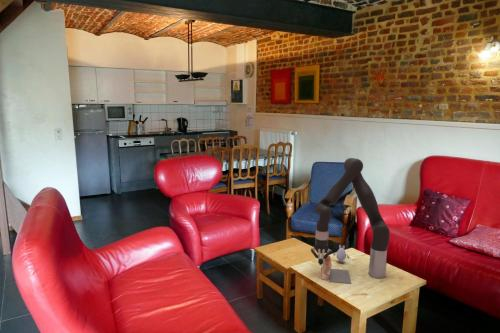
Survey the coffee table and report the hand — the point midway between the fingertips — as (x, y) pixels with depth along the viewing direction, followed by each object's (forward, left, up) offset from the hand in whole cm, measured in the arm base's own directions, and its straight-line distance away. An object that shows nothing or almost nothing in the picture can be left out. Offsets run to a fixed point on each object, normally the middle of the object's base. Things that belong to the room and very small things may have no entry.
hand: (320, 264), depth 216 cm
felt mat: (-11, 0, -7) cm, 13 cm away
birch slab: (-3, 0, -7) cm, 7 cm away
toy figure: (-14, -19, -7) cm, 25 cm away
